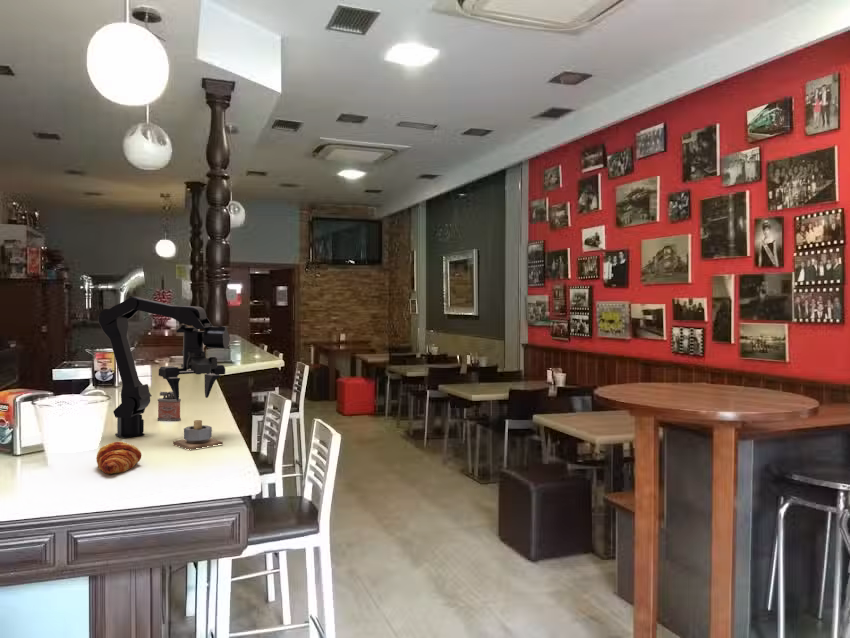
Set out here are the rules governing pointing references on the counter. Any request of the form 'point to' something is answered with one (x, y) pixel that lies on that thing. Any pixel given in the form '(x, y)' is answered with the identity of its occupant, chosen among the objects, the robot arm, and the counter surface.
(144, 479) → the counter surface
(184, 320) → the robot arm
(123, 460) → the croissant
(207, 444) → the peg stand
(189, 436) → the ring
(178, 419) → the lighter
